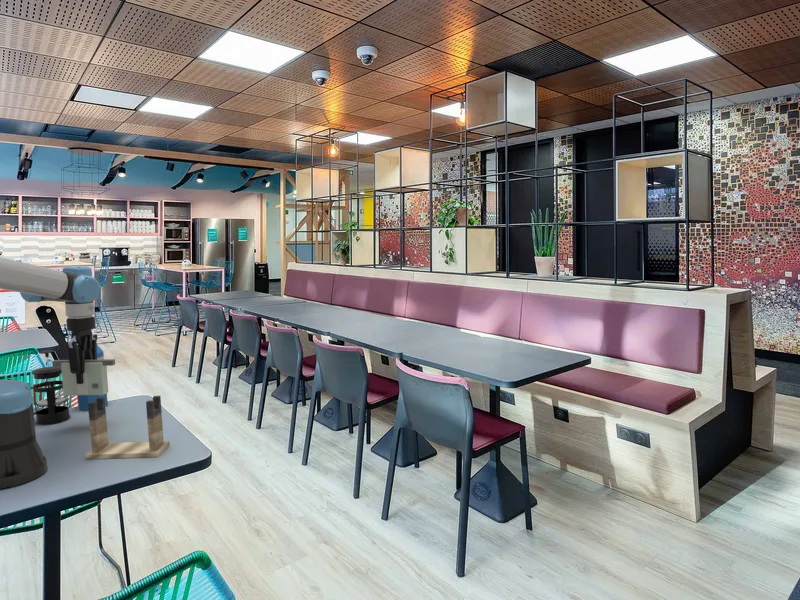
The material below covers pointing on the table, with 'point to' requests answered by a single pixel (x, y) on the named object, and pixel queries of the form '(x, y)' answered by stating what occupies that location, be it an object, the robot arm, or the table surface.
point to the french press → (50, 395)
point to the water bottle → (85, 399)
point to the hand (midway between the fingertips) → (85, 391)
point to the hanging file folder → (95, 376)
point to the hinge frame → (126, 449)
